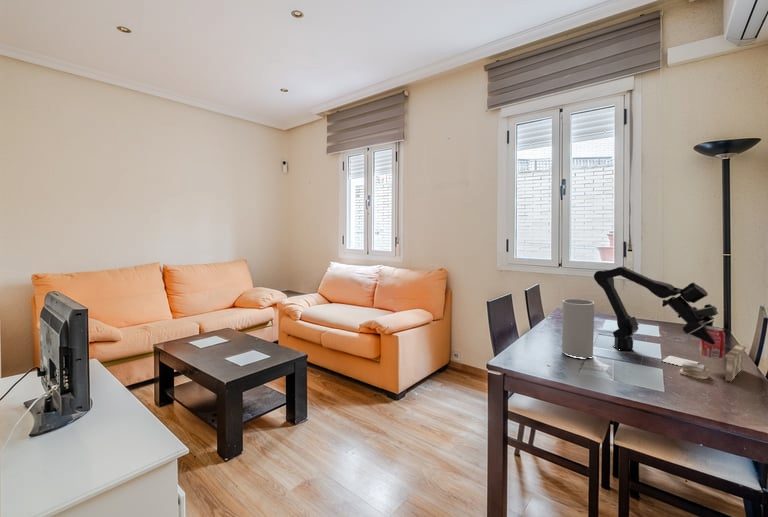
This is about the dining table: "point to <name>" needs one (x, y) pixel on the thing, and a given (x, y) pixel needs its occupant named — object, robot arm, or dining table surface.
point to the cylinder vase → (578, 327)
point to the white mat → (676, 360)
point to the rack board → (734, 362)
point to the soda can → (713, 349)
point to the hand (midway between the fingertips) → (716, 341)
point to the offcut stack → (694, 370)
